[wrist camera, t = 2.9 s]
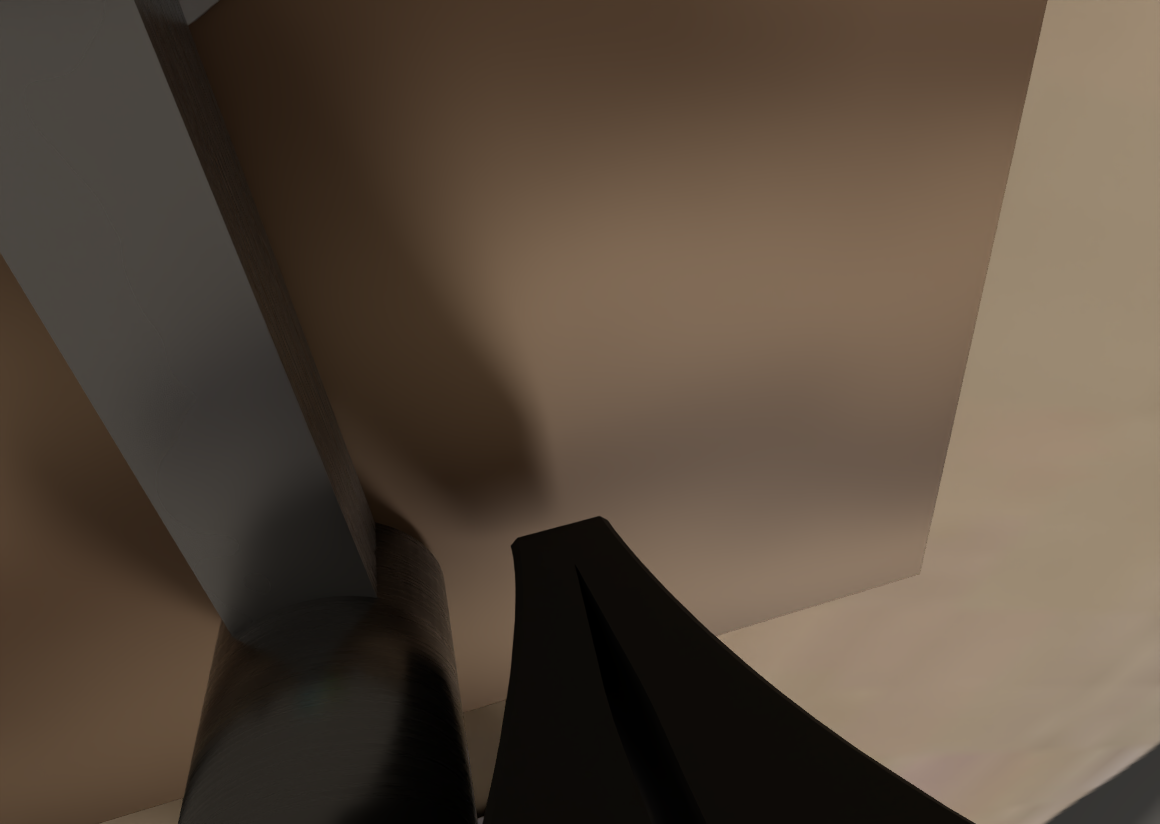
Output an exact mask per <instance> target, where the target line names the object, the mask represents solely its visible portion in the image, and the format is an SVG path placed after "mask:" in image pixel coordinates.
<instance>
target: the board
mask: <svg viewBox="0 0 1160 824" xmlns="http://www.w3.org/2000/svg"><path fill="white" fill-rule="evenodd" d="M179 3H180V5H181V8H182V11H183V13H184V16H185V19H186V21H187V24H188V27H189V29H190V32H191V35H192V37H193V40H194V43H195V45H196V48H197V50H198V53H199V56H200V58H201V61H202V64H203V66H204V69H205V72H206V74H207V77H208V80H209V82H210V85H211V88H212V90H213V93H214V96H215V98H216V101H217V104H218V106H219V109H220V112H221V114H222V117H223V120H224V122H225V125H226V128H227V130H228V133H229V136H230V138H231V141H232V144H233V146H234V149H235V151H236V154H237V157H238V159H239V162H240V165H241V167H242V170H243V173H244V175H245V178H246V181H247V183H248V186H249V189H250V191H251V194H252V197H253V199H254V202H255V205H256V207H257V210H258V213H259V215H260V218H261V221H262V223H263V226H264V229H265V231H266V234H267V237H268V239H269V242H270V244H271V247H272V250H273V252H274V255H275V258H276V260H277V263H278V266H279V268H280V271H281V274H282V276H283V279H284V282H285V284H286V287H287V290H288V292H289V295H290V298H291V300H292V303H293V306H294V308H295V311H296V314H297V316H298V319H299V322H300V324H301V327H302V330H303V332H304V335H305V337H306V340H307V343H308V345H309V348H310V351H311V353H312V356H313V359H314V361H315V364H316V367H317V369H318V372H319V375H320V377H321V380H322V383H323V385H324V388H325V391H326V393H327V396H328V399H329V401H330V404H331V407H332V409H333V412H334V415H335V417H336V420H337V423H338V425H339V428H340V431H341V433H342V436H343V438H344V441H345V444H346V446H347V449H348V452H349V454H350V457H351V460H352V462H353V465H354V468H355V470H356V473H357V476H358V478H359V481H360V484H361V486H362V489H363V492H364V494H365V497H366V500H367V502H368V505H369V508H370V510H371V513H372V516H373V518H374V521H375V523H379V524H383V525H386V526H390V527H393V528H396V529H398V530H400V531H402V532H405V533H407V534H408V535H410V536H412V537H413V538H415V539H417V540H418V541H419V542H421V543H422V544H423V545H424V546H425V547H427V549H428V550H429V551H430V552H431V553H432V554H433V555H434V557H435V558H436V560H437V561H438V563H439V565H440V567H441V570H442V572H443V576H444V581H445V587H446V594H447V602H448V609H449V616H450V623H451V631H452V638H453V645H454V653H455V660H456V667H457V674H458V682H459V689H460V696H461V703H462V711H463V713H464V712H467V711H471V710H474V709H477V708H481V707H484V706H487V705H490V704H494V703H497V702H500V701H504V700H506V698H507V691H508V685H509V678H510V669H511V659H512V647H513V635H514V623H515V571H514V560H513V555H512V550H511V545H512V543H513V542H514V541H515V540H516V539H517V538H518V537H522V536H525V535H529V534H533V533H537V532H540V531H544V530H548V529H552V528H555V527H559V526H563V525H567V524H571V523H574V522H578V521H582V520H586V519H589V518H593V517H597V516H601V517H603V518H605V519H607V520H608V521H609V522H610V524H611V525H612V527H613V528H614V529H615V531H616V532H617V533H618V534H619V536H620V537H621V538H622V539H623V541H624V542H625V543H626V544H627V545H628V547H629V548H630V549H631V550H632V551H633V553H634V554H635V555H636V556H637V557H638V558H639V559H640V561H641V562H642V563H643V564H644V565H645V566H646V567H647V568H648V569H649V570H650V572H651V573H652V574H653V575H654V576H655V577H656V578H657V579H658V580H659V581H660V582H661V583H662V584H663V585H664V587H665V588H666V589H667V590H668V591H669V592H670V593H671V594H672V595H673V596H674V597H675V598H676V599H677V600H678V601H679V602H680V603H681V604H682V605H683V606H684V607H685V608H686V609H688V610H689V611H690V612H691V613H692V614H693V615H694V616H695V617H696V618H697V619H698V620H699V621H700V622H701V623H702V624H703V625H704V626H705V627H706V628H707V629H708V630H709V631H710V632H711V633H713V634H714V635H715V636H718V635H721V634H724V633H728V632H731V631H734V630H737V629H741V628H744V627H747V626H751V625H754V624H757V623H761V622H764V621H767V620H770V619H774V618H777V617H780V616H784V615H787V614H790V613H793V612H797V611H800V610H803V609H807V608H810V607H813V606H817V605H820V604H823V603H826V602H830V601H833V600H836V599H840V598H843V597H846V596H849V595H853V594H856V593H859V592H863V591H866V590H869V589H872V588H876V587H879V586H882V585H886V584H889V583H892V582H896V581H899V580H902V579H905V578H909V577H912V576H915V575H919V574H920V571H921V567H922V562H923V558H924V553H925V549H926V544H927V540H928V535H929V531H930V526H931V522H932V517H933V513H934V508H935V504H936V499H937V495H938V490H939V486H940V481H941V477H942V472H943V468H944V463H945V459H946V454H947V450H948V445H949V441H950V436H951V432H952V427H953V423H954V418H955V414H956V409H957V405H958V400H959V396H960V391H961V387H962V382H963V378H964V373H965V369H966V364H967V360H968V355H969V351H970V346H971V342H972V337H973V333H974V328H975V324H976V319H977V315H978V310H979V306H980V301H981V297H982V292H983V288H984V283H985V279H986V274H987V270H988V265H989V261H990V256H991V252H992V247H993V243H994V238H995V234H996V229H997V225H998V220H999V216H1000V211H1001V207H1002V202H1003V198H1004V193H1005V189H1006V184H1007V180H1008V175H1009V171H1010V166H1011V162H1012V157H1013V153H1014V148H1015V144H1016V139H1017V135H1018V130H1019V126H1020V121H1021V117H1022V112H1023V108H1024V103H1025V99H1026V94H1027V90H1028V85H1029V81H1030V76H1031V72H1032V67H1033V63H1034V58H1035V54H1036V49H1037V45H1038V40H1039V36H1040V31H1041V27H1042V22H1043V18H1044V13H1045V9H1046V4H1047V0H179ZM220 622H221V617H220V615H219V614H218V612H217V611H216V609H215V607H214V606H213V604H212V602H211V601H210V599H209V597H208V596H207V594H206V592H205V591H204V589H203V587H202V586H201V584H200V582H199V581H198V579H197V577H196V576H195V574H194V572H193V571H192V569H191V567H190V566H189V564H188V563H187V561H186V559H185V558H184V556H183V554H182V553H181V551H180V549H179V548H178V546H177V544H176V543H175V541H174V539H173V538H172V536H171V534H170V533H169V531H168V529H167V528H166V526H165V524H164V523H163V521H162V519H161V518H160V516H159V515H158V513H157V511H156V510H155V508H154V506H153V505H152V503H151V501H150V500H149V498H148V496H147V495H146V493H145V491H144V490H143V488H142V486H141V485H140V483H139V481H138V480H137V478H136V476H135V475H134V473H133V471H132V470H131V468H130V467H129V465H128V463H127V462H126V460H125V458H124V457H123V455H122V453H121V452H120V450H119V448H118V447H117V445H116V443H115V442H114V440H113V438H112V437H111V435H110V433H109V432H108V430H107V428H106V427H105V425H104V423H103V422H102V420H101V419H100V417H99V415H98V414H97V412H96V410H95V409H94V407H93V405H92V404H91V402H90V400H89V399H88V397H87V395H86V394H85V392H84V390H83V389H82V387H81V385H80V384H79V382H78V380H77V379H76V377H75V376H74V374H73V372H72V371H71V369H70V367H69V366H68V364H67V362H66V361H65V359H64V357H63V356H62V354H61V352H60V351H59V349H58V347H57V346H56V344H55V342H54V341H53V339H52V337H51V336H50V334H49V332H48V331H47V329H46V328H45V326H44V324H43V323H42V321H41V319H40V318H39V316H38V314H37V313H36V311H35V309H34V308H33V306H32V304H31V303H30V301H29V299H28V298H27V296H26V294H25V293H24V291H23V289H22V288H21V286H20V284H19V283H18V281H17V280H16V278H15V276H14V275H13V273H12V271H11V270H10V268H9V266H8V265H7V263H6V261H5V260H4V258H3V256H2V255H1V253H0V824H99V823H102V822H105V821H108V820H112V819H115V818H118V817H122V816H125V815H128V814H131V813H135V812H138V811H141V810H145V809H148V808H151V807H155V806H158V805H161V804H164V803H168V802H171V801H174V800H178V799H181V798H184V793H185V788H186V783H187V779H188V774H189V769H190V764H191V760H192V755H193V750H194V745H195V741H196V736H197V731H198V726H199V722H200V717H201V712H202V707H203V703H204V698H205V693H206V688H207V684H208V679H209V674H210V669H211V665H212V660H213V655H214V650H215V646H216V641H217V636H218V631H219V627H220Z"/></svg>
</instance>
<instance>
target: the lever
mask: <svg viewBox="0 0 1160 824" xmlns="http://www.w3.org/2000/svg"><path fill="white" fill-rule="evenodd" d="M0 253H1V255H2V256H3V258H4V260H5V261H6V263H7V265H8V266H9V268H10V270H11V271H12V273H13V275H14V276H15V278H16V280H17V281H18V283H19V284H20V286H21V288H22V289H23V291H24V293H25V294H26V296H27V298H28V299H29V301H30V303H31V304H32V306H33V308H34V309H35V311H36V313H37V314H38V316H39V318H40V319H41V321H42V323H43V324H44V326H45V328H46V329H47V331H48V332H49V334H50V336H51V337H52V339H53V341H54V342H55V344H56V346H57V347H58V349H59V351H60V352H61V354H62V356H63V357H64V359H65V361H66V362H67V364H68V366H69V367H70V369H71V371H72V372H73V374H74V376H75V377H76V379H77V380H78V382H79V384H80V385H81V387H82V389H83V390H84V392H85V394H86V395H87V397H88V399H89V400H90V402H91V404H92V405H93V407H94V409H95V410H96V412H97V414H98V415H99V417H100V419H101V420H102V422H103V423H104V425H105V427H106V428H107V430H108V432H109V433H110V435H111V437H112V438H113V440H114V442H115V443H116V445H117V447H118V448H119V450H120V452H121V453H122V455H123V457H124V458H125V460H126V462H127V463H128V465H129V467H130V468H131V470H132V471H133V473H134V475H135V476H136V478H137V480H138V481H139V483H140V485H141V486H142V488H143V490H144V491H145V493H146V495H147V496H148V498H149V500H150V501H151V503H152V505H153V506H154V508H155V510H156V511H157V513H158V515H159V516H160V518H161V519H162V521H163V523H164V524H165V526H166V528H167V529H168V531H169V533H170V534H171V536H172V538H173V539H174V541H175V543H176V544H177V546H178V548H179V549H180V551H181V553H182V554H183V556H184V558H185V559H186V561H187V563H188V564H189V566H190V567H191V569H192V571H193V572H194V574H195V576H196V577H197V579H198V581H199V582H200V584H201V586H202V587H203V589H204V591H205V592H206V594H207V596H208V597H209V599H210V601H211V602H212V604H213V606H214V607H215V609H216V611H217V612H218V614H219V615H220V617H221V622H220V627H219V631H218V636H217V641H216V646H215V650H214V655H213V660H212V665H211V669H210V674H209V679H208V684H207V688H206V693H205V698H204V703H203V707H202V712H201V717H200V722H199V726H198V731H197V736H196V741H195V745H194V750H193V755H192V760H191V764H190V769H189V774H188V779H187V783H186V788H185V793H184V798H183V802H182V807H181V812H180V817H179V821H178V824H478V820H477V812H476V805H475V798H474V791H473V783H472V776H471V769H470V762H469V754H468V747H467V740H466V732H465V725H464V718H463V711H462V703H461V696H460V689H459V682H458V674H457V667H456V660H455V653H454V645H453V638H452V631H451V623H450V616H449V609H448V602H447V594H446V587H445V581H444V576H443V572H442V570H441V567H440V565H439V563H438V561H437V560H436V558H435V557H434V555H433V554H432V553H431V552H430V551H429V550H428V549H427V547H425V546H424V545H423V544H422V543H421V542H419V541H418V540H417V539H415V538H413V537H412V536H410V535H408V534H407V533H405V532H402V531H400V530H398V529H396V528H393V527H390V526H386V525H383V524H379V523H375V521H374V518H373V516H372V513H371V510H370V508H369V505H368V502H367V500H366V497H365V494H364V492H363V489H362V486H361V484H360V481H359V478H358V476H357V473H356V470H355V468H354V465H353V462H352V460H351V457H350V454H349V452H348V449H347V446H346V444H345V441H344V438H343V436H342V433H341V431H340V428H339V425H338V423H337V420H336V417H335V415H334V412H333V409H332V407H331V404H330V401H329V399H328V396H327V393H326V391H325V388H324V385H323V383H322V380H321V377H320V375H319V372H318V369H317V367H316V364H315V361H314V359H313V356H312V353H311V351H310V348H309V345H308V343H307V340H306V337H305V335H304V332H303V330H302V327H301V324H300V322H299V319H298V316H297V314H296V311H295V308H294V306H293V303H292V300H291V298H290V295H289V292H288V290H287V287H286V284H285V282H284V279H283V276H282V274H281V271H280V268H279V266H278V263H277V260H276V258H275V255H274V252H273V250H272V247H271V244H270V242H269V239H268V237H267V234H266V231H265V229H264V226H263V223H262V221H261V218H260V215H259V213H258V210H257V207H256V205H255V202H254V199H253V197H252V194H251V191H250V189H249V186H248V183H247V181H246V178H245V175H244V173H243V170H242V167H241V165H240V162H239V159H238V157H237V154H236V151H235V149H234V146H233V144H232V141H231V138H230V136H229V133H228V130H227V128H226V125H225V122H224V120H223V117H222V114H221V112H220V109H219V106H218V104H217V101H216V98H215V96H214V93H213V90H212V88H211V85H210V82H209V80H208V77H207V74H206V72H205V69H204V66H203V64H202V61H201V58H200V56H199V53H198V50H197V48H196V45H195V43H194V40H193V37H192V35H191V32H190V29H189V27H188V24H187V21H186V19H185V16H184V13H183V11H182V8H181V5H180V3H179V0H0Z"/></svg>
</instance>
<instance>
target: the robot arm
mask: <svg viewBox="0 0 1160 824" xmlns="http://www.w3.org/2000/svg"><path fill="white" fill-rule="evenodd" d="M511 550H512V555H513V560H514V571H515V623H514V635H513V647H512V659H511V669H510V678H509V685H508V691H507V698H506V705H505V711H504V718H503V725H502V731H501V737H500V743H499V748H498V753H497V759H496V764H495V769H494V774H493V779H492V783H491V788H490V792H489V797H488V801H487V806H486V810H485V815H484V816H483V817H480V818H477V820H478V824H975V823H974V822H972V821H970V820H968V819H967V818H965V817H963V816H962V815H960V814H958V813H957V812H955V811H953V810H952V809H950V808H948V807H947V806H945V805H943V804H942V803H940V802H939V801H937V800H936V799H934V798H933V797H931V796H930V795H928V794H926V793H925V792H923V791H922V790H920V789H919V788H917V787H916V786H914V785H913V784H911V783H909V782H908V781H906V780H905V779H903V778H902V777H900V776H899V775H897V774H896V773H894V772H892V771H891V770H889V769H888V768H886V767H885V766H883V765H882V764H880V763H879V762H877V761H875V760H874V759H872V758H871V757H869V756H868V755H866V754H865V753H863V752H862V751H860V750H859V749H857V748H856V747H854V746H853V745H852V744H850V743H849V742H847V741H846V740H845V739H843V738H842V737H840V736H839V735H838V734H836V733H835V732H834V731H832V730H831V729H829V728H828V727H827V726H825V725H824V724H822V723H821V722H820V721H818V720H817V719H815V718H814V717H813V716H812V715H810V714H809V713H808V712H806V711H805V710H804V709H802V708H801V707H800V706H798V705H797V704H796V703H794V702H793V701H792V700H791V699H789V698H788V697H787V696H785V695H784V694H783V693H782V692H780V691H779V690H778V689H777V688H775V687H774V686H773V685H772V684H770V683H769V682H768V681H767V680H765V679H764V678H763V677H762V676H761V675H759V674H758V673H757V672H756V671H755V670H753V669H752V668H751V667H750V666H749V665H748V664H746V663H745V662H744V661H743V660H742V659H741V658H740V657H738V656H737V655H736V654H735V653H734V652H733V651H732V650H730V649H729V648H728V647H727V646H726V645H725V644H724V643H722V642H721V641H720V640H719V639H718V638H717V637H716V636H715V635H714V634H713V633H711V632H710V631H709V630H708V629H707V628H706V627H705V626H704V625H703V624H702V623H701V622H700V621H699V620H698V619H697V618H696V617H695V616H694V615H693V614H692V613H691V612H690V611H689V610H688V609H686V608H685V607H684V606H683V605H682V604H681V603H680V602H679V601H678V600H677V599H676V598H675V597H674V596H673V595H672V594H671V593H670V592H669V591H668V590H667V589H666V588H665V587H664V585H663V584H662V583H661V582H660V581H659V580H658V579H657V578H656V577H655V576H654V575H653V574H652V573H651V572H650V570H649V569H648V568H647V567H646V566H645V565H644V564H643V563H642V562H641V561H640V559H639V558H638V557H637V556H636V555H635V554H634V553H633V551H632V550H631V549H630V548H629V547H628V545H627V544H626V543H625V542H624V541H623V539H622V538H621V537H620V536H619V534H618V533H617V532H616V531H615V529H614V528H613V527H612V525H611V524H610V522H609V521H608V520H607V519H605V518H603V517H601V516H597V517H593V518H589V519H586V520H582V521H578V522H574V523H571V524H567V525H563V526H559V527H555V528H552V529H548V530H544V531H540V532H537V533H533V534H529V535H525V536H522V537H518V538H517V539H516V540H515V541H514V542H513V543H512V545H511Z"/></svg>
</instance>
